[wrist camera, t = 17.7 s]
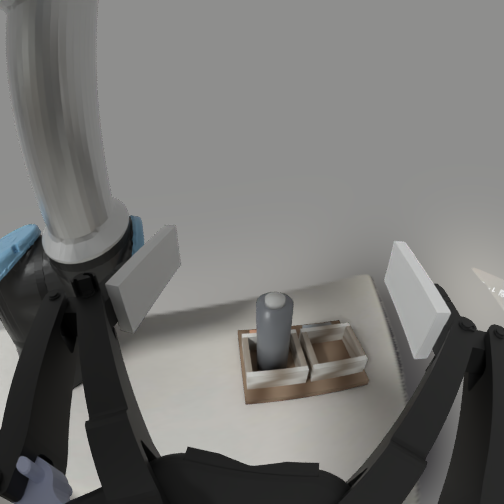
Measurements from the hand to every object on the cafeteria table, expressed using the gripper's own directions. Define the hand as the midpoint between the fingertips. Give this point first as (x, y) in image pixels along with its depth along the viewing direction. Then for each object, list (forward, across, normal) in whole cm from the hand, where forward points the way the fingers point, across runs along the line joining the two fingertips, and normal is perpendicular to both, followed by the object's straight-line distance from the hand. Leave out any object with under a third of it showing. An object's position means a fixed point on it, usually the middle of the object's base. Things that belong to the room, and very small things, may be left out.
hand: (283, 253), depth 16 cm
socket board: (+14, +4, -26) cm, 30 cm away
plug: (+12, -1, -25) cm, 28 cm away
